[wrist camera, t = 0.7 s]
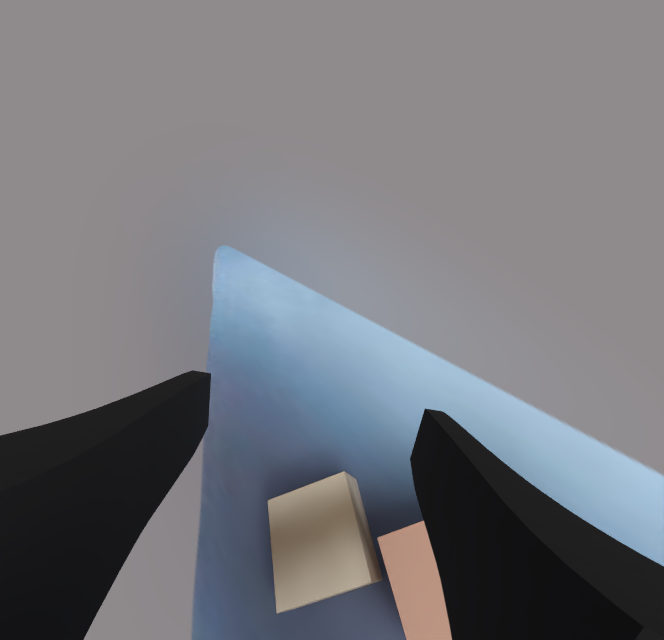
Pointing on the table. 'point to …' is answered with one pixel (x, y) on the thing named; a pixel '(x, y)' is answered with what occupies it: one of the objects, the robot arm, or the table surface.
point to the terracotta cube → (415, 583)
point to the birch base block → (320, 542)
